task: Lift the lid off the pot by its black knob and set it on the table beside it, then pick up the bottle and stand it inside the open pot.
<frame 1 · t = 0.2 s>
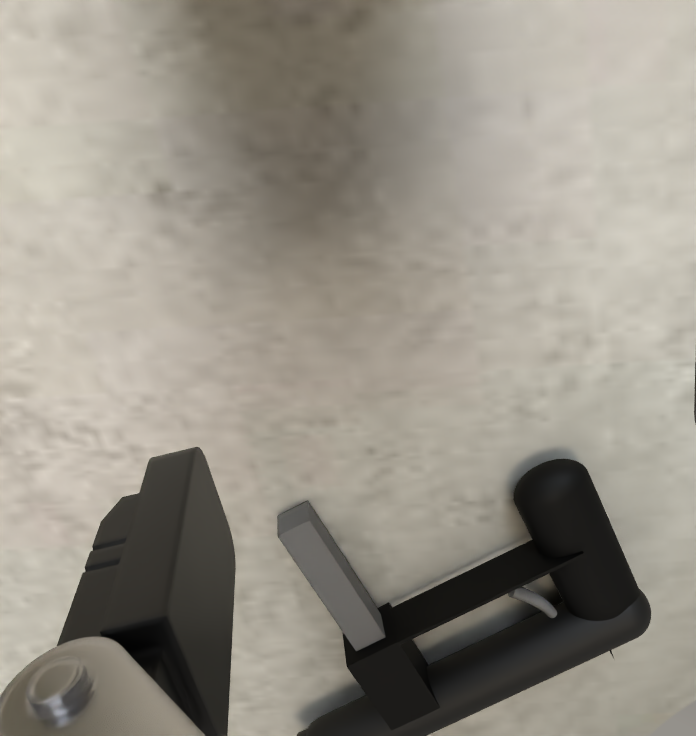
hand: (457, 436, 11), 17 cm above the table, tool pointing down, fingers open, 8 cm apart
black staple gun: (421, 585, 35), on the table
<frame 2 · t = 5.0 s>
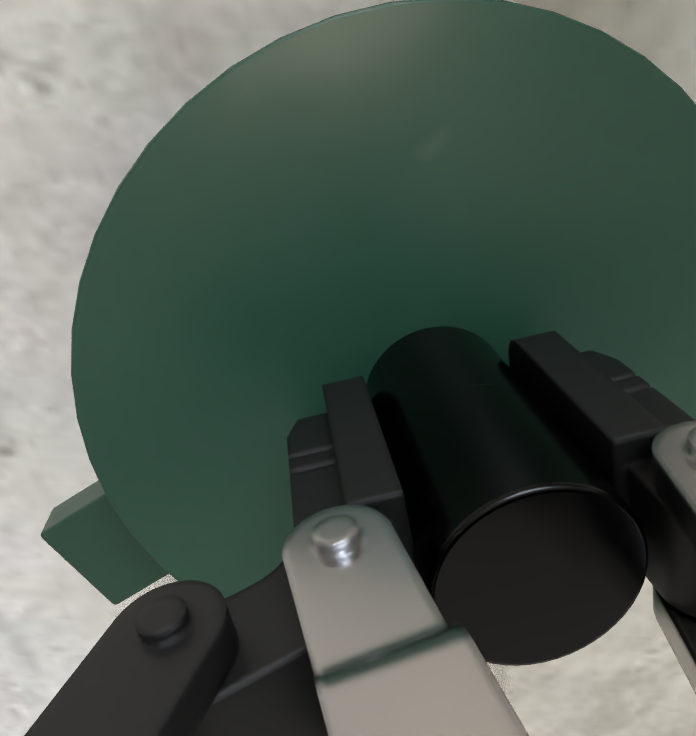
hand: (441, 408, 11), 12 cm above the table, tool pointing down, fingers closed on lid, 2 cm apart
pot: (355, 249, 22), on the table
lid: (428, 380, 12), point 11 cm above the table, touching pot, gripper
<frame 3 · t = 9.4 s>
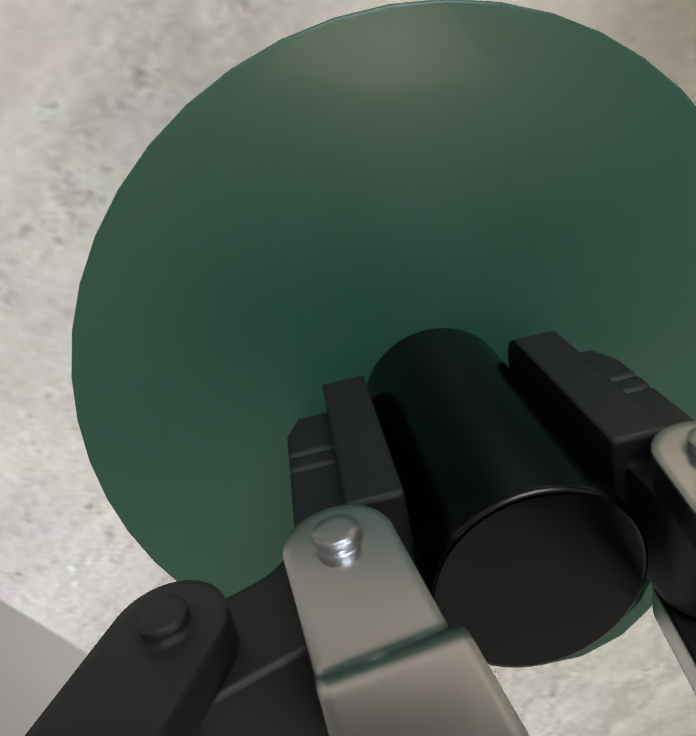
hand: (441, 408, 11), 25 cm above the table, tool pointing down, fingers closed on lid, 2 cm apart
pot: (490, 463, 42), on the table
lid: (428, 382, 12), point 24 cm above the table, touching gripper
when the fingers open (2 cm above the table, at t = 13.7 s): lid stays where it is, point 1 cm above the table.
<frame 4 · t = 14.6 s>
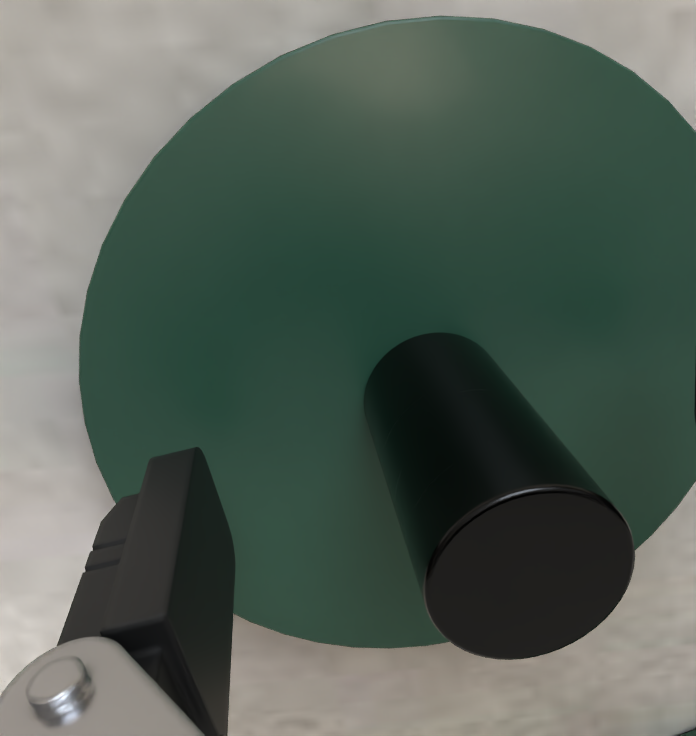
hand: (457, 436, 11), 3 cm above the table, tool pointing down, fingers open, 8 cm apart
lid: (425, 384, 13), point 1 cm above the table
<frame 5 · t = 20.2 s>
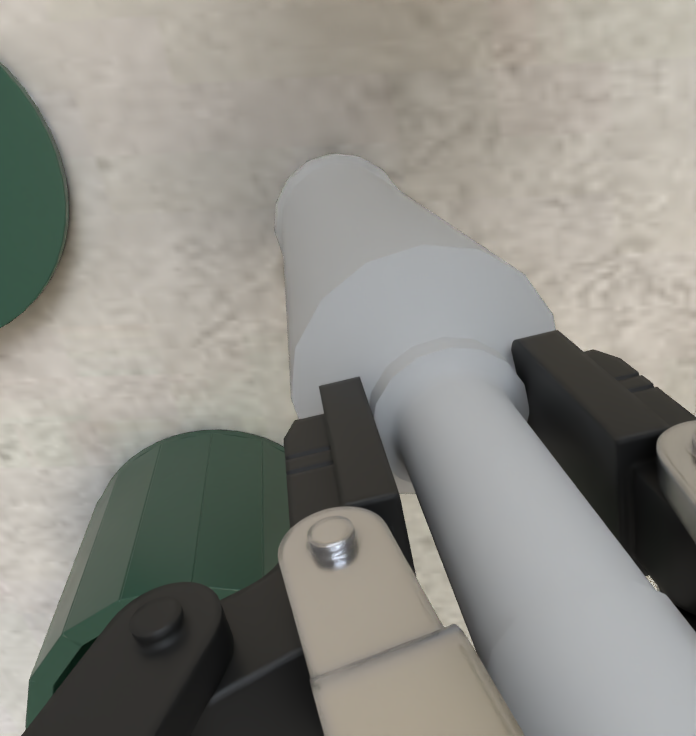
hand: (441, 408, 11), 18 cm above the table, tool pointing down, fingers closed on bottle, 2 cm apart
pot: (217, 531, 33), on the table
bottle: (335, 214, 28), on the table, touching gripper
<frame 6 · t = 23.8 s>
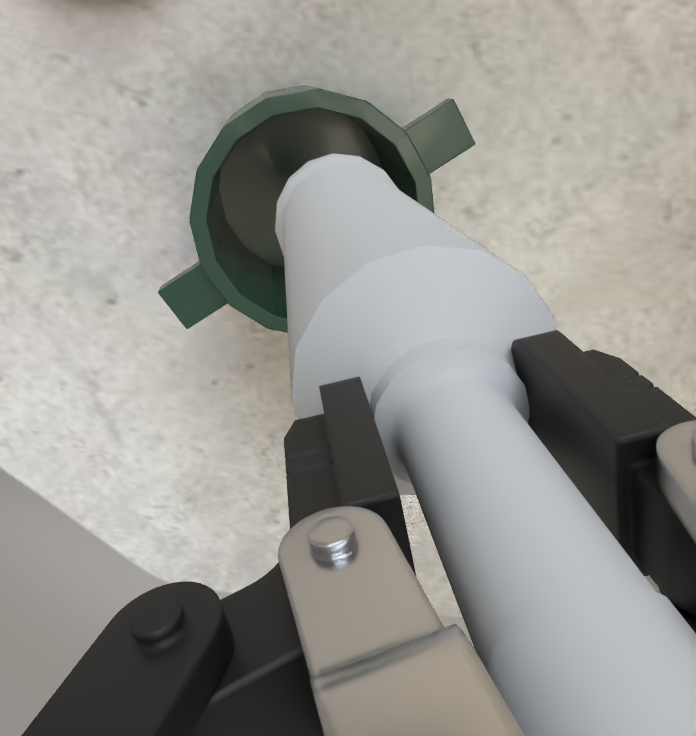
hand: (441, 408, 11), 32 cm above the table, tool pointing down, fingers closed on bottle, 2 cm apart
pot: (302, 188, 41), on the table
bottle: (336, 214, 28), point 15 cm above the table, touching gripper
when the fingers open (18 cm above the table, at t = 27.9 s): bottle stays where it is, resting on pot.
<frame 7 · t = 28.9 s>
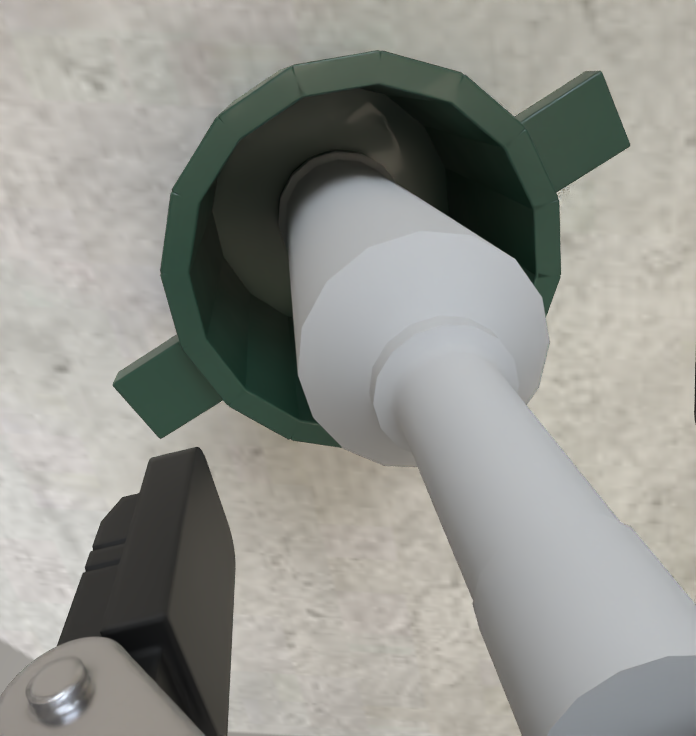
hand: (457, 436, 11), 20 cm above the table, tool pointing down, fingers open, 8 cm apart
pot: (332, 209, 29), on the table
bottle: (337, 209, 29), resting on pot
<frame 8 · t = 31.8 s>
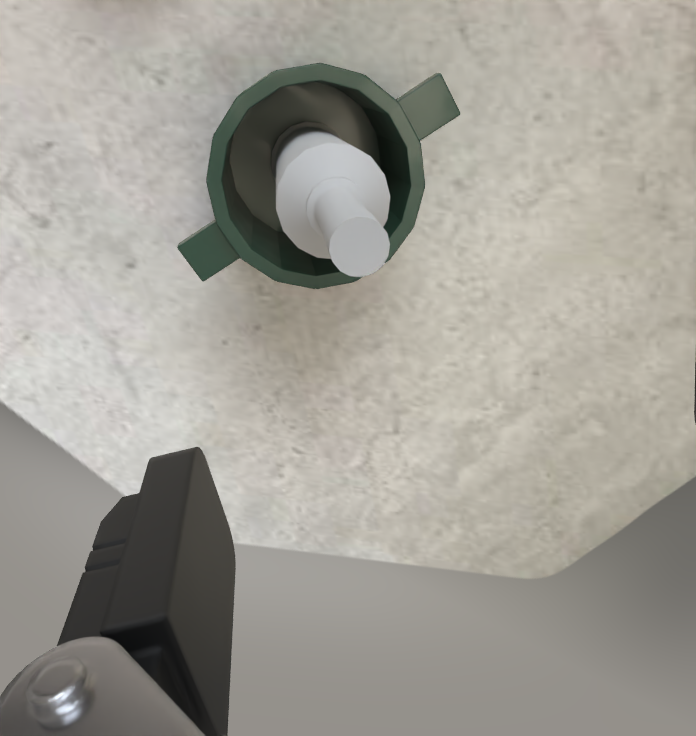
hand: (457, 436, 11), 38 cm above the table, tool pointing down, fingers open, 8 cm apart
pot: (305, 161, 45), on the table
bottle: (308, 160, 45), resting on pot
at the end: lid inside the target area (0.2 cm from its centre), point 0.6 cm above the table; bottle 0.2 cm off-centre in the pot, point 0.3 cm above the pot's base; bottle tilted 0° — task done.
